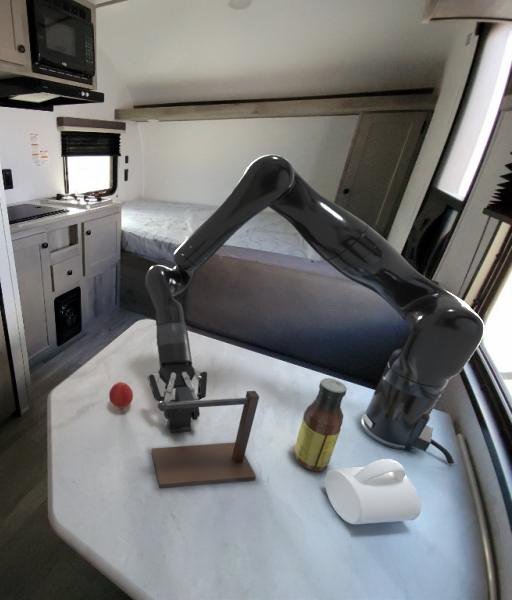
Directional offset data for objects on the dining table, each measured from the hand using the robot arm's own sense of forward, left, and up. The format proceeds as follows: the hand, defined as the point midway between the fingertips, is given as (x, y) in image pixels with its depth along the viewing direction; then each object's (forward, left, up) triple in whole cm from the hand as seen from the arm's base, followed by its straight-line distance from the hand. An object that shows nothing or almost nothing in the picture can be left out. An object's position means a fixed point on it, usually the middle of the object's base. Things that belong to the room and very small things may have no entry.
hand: (182, 420), depth 71 cm
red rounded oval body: (+16, +4, -5) cm, 17 cm away
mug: (-32, -9, -4) cm, 34 cm away
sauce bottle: (-22, -13, -4) cm, 27 cm away
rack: (-7, +4, -4) cm, 9 cm away
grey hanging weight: (+1, 0, -4) cm, 4 cm away
